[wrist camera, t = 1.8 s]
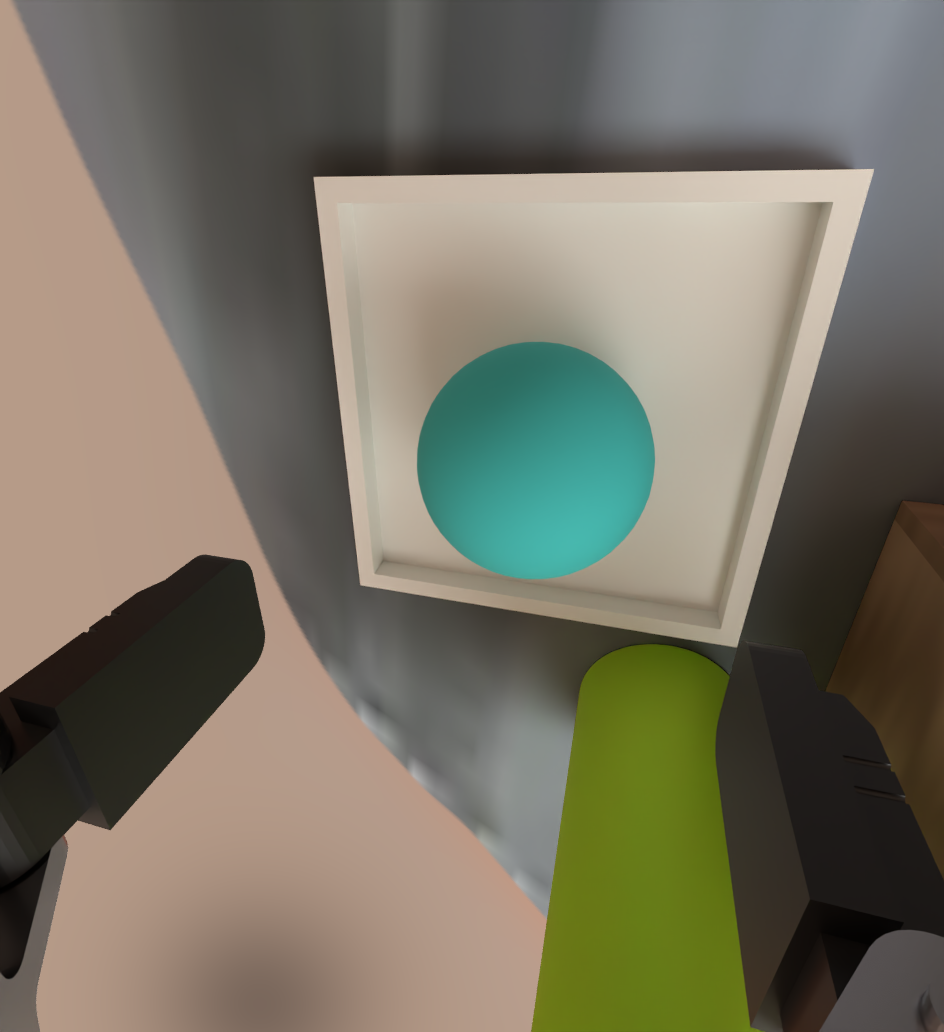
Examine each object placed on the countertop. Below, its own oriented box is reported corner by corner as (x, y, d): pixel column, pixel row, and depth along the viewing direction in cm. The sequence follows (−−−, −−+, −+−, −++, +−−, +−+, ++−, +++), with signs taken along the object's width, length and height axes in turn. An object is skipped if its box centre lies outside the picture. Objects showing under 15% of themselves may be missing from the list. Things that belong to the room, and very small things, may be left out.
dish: (334, 179, 16) (313, 177, 15) (856, 171, 13) (874, 169, 12) (373, 567, 22) (360, 585, 21) (732, 623, 19) (736, 647, 18)
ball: (453, 316, 17) (367, 366, 11) (669, 327, 15) (681, 387, 10) (456, 501, 19) (388, 606, 14) (638, 523, 18) (635, 648, 13)
